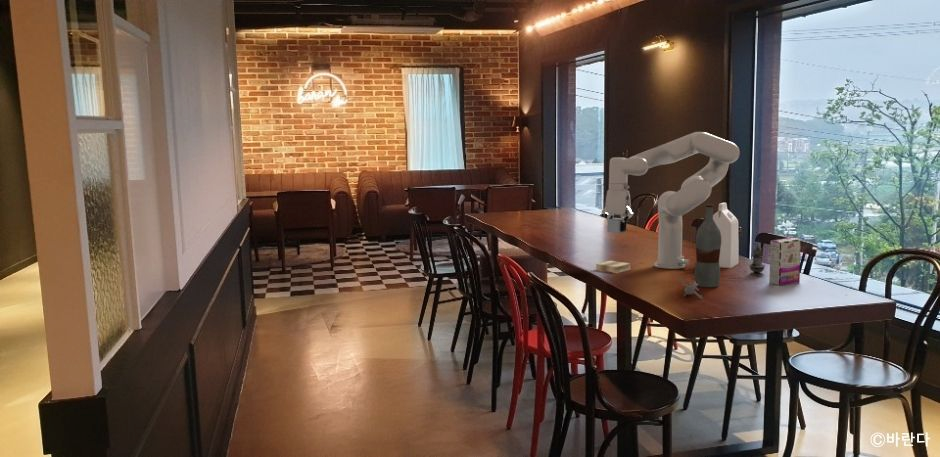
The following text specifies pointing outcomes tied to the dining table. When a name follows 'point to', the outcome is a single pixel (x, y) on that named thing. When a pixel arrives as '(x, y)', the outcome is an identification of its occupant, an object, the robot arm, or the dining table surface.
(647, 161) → the robot arm
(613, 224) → the slate cube
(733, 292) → the dining table surface
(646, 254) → the dining table surface
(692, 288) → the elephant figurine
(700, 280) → the bottle
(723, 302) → the dining table surface
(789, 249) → the candy bar box
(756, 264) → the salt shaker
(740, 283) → the dining table surface
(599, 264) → the beech block
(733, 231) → the milk
